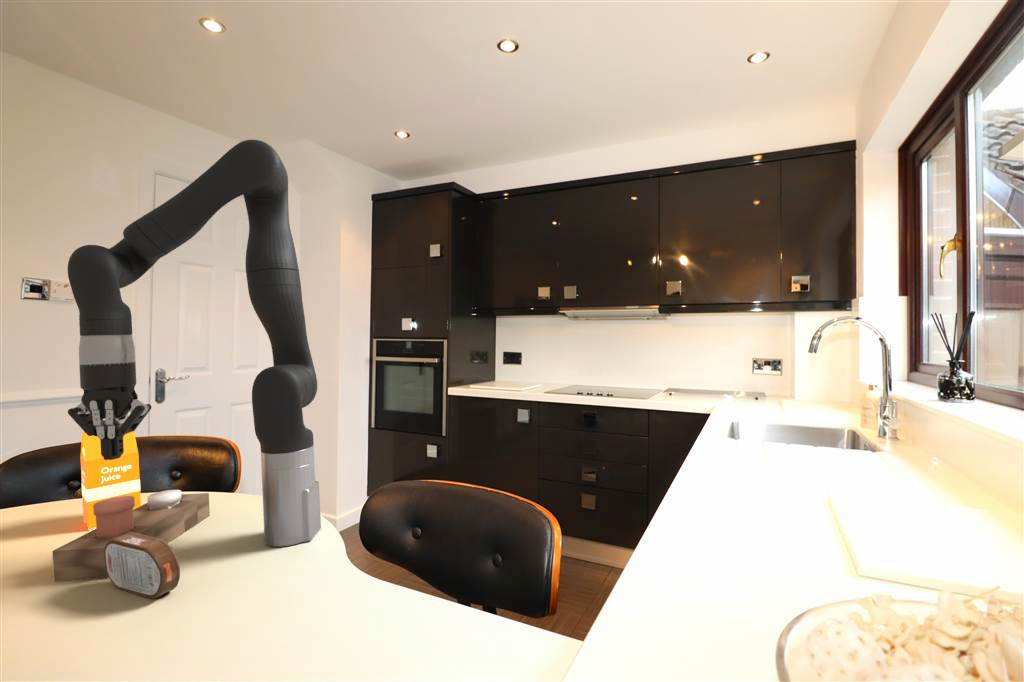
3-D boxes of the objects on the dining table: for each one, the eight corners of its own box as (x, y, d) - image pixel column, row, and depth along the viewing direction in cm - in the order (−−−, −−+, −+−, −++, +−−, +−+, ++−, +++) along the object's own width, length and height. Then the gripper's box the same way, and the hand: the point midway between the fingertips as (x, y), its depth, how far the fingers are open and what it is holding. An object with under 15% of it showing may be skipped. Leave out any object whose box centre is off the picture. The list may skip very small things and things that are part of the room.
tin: (183, 594, 71) (180, 540, 71) (160, 606, 68) (158, 549, 68) (123, 577, 77) (121, 527, 77) (100, 587, 74) (98, 535, 74)
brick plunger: (143, 530, 86) (142, 494, 86) (120, 543, 80) (118, 506, 80) (111, 531, 86) (110, 496, 85) (86, 545, 80) (84, 508, 80)
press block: (209, 515, 103) (208, 493, 103) (118, 576, 77) (117, 546, 77) (162, 518, 102) (161, 495, 102) (54, 581, 76) (52, 550, 76)
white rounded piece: (188, 519, 99) (187, 488, 99) (171, 530, 93) (169, 498, 93) (161, 521, 99) (159, 490, 99) (141, 532, 93) (140, 499, 93)
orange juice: (142, 517, 103) (137, 427, 103) (88, 531, 97) (83, 434, 96) (134, 509, 108) (130, 423, 108) (83, 522, 102) (78, 430, 101)
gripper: (161, 358, 87) (165, 451, 87) (86, 361, 86) (91, 455, 86) (131, 361, 79) (136, 462, 80) (48, 363, 78) (53, 466, 79)
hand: (112, 458), depth 83 cm, fingers closed
